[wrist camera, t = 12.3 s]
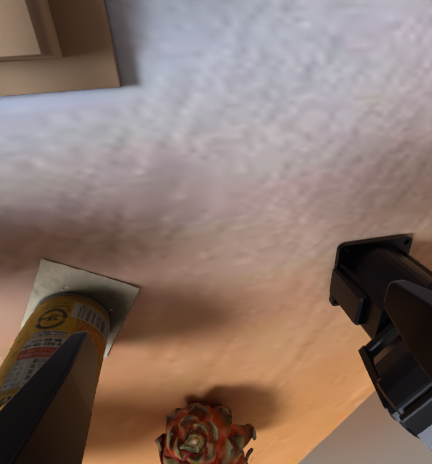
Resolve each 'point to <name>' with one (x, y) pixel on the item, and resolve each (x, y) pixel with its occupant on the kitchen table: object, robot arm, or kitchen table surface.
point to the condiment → (64, 320)
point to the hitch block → (56, 46)
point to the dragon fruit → (204, 437)
